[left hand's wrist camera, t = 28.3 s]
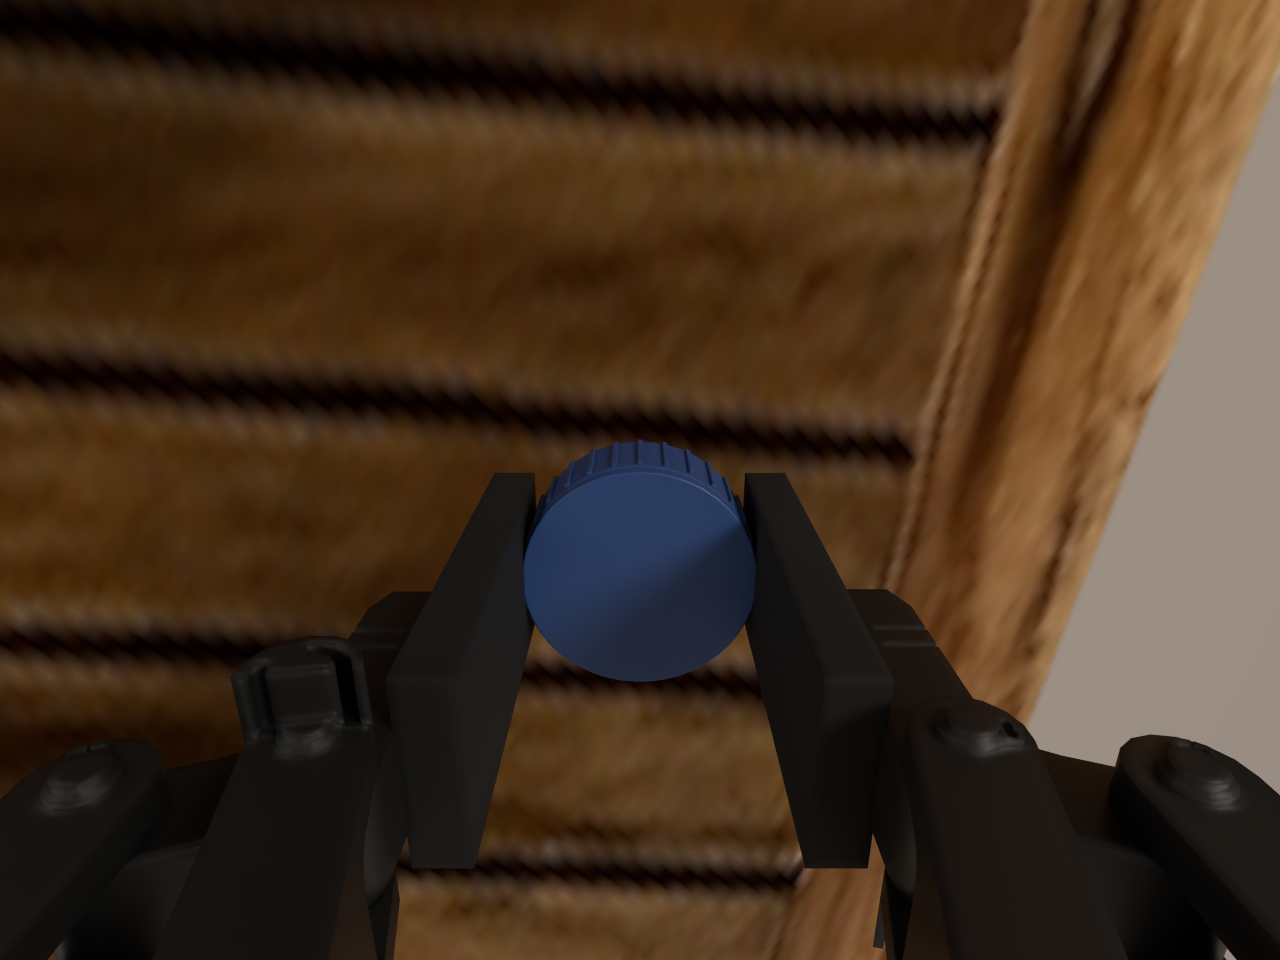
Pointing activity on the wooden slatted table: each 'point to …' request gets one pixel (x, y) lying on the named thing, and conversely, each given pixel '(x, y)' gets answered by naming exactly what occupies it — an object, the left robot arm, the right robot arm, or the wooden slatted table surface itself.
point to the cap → (639, 562)
